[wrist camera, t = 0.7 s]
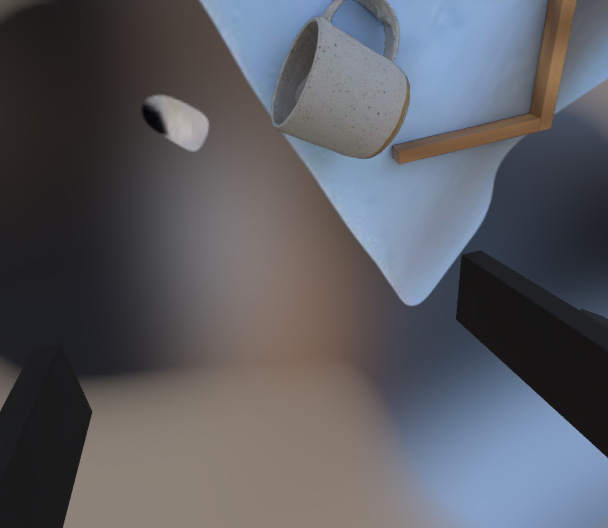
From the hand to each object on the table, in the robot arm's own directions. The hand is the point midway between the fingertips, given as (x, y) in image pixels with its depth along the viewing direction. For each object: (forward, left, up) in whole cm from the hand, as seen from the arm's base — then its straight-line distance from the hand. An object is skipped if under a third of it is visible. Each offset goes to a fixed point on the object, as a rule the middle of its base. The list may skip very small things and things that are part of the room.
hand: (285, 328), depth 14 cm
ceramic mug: (-2, +8, -25) cm, 26 cm away
